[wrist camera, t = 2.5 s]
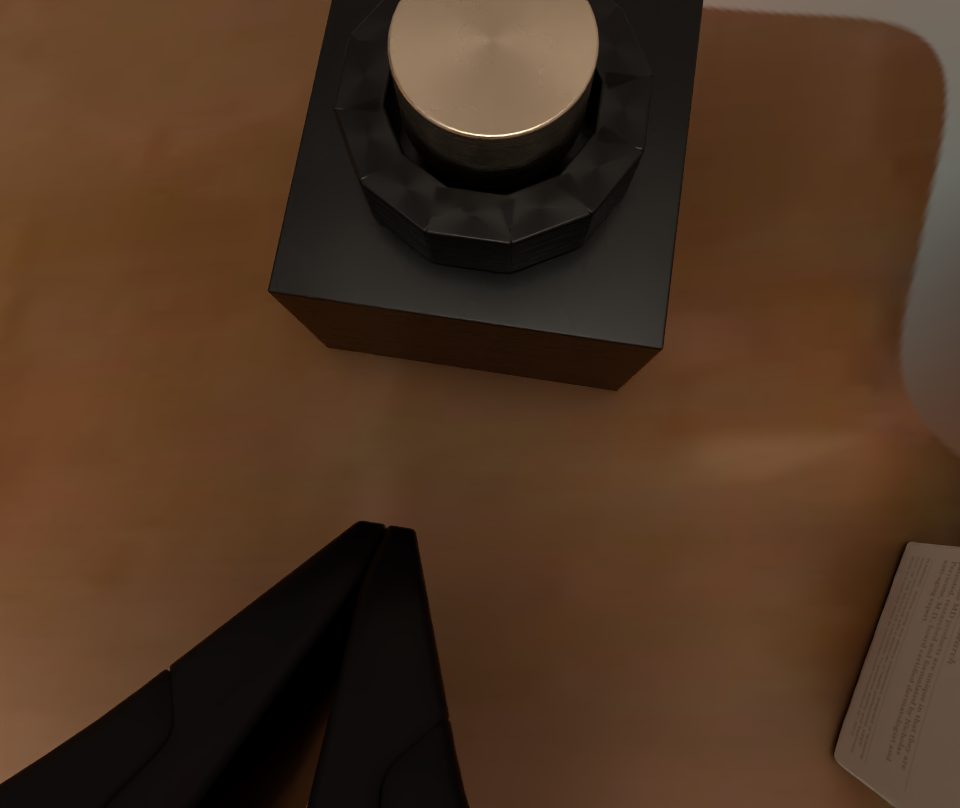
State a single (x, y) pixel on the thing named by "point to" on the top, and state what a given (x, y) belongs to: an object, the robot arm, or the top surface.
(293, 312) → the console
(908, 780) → the white packaging box
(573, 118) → the knob
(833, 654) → the top surface
